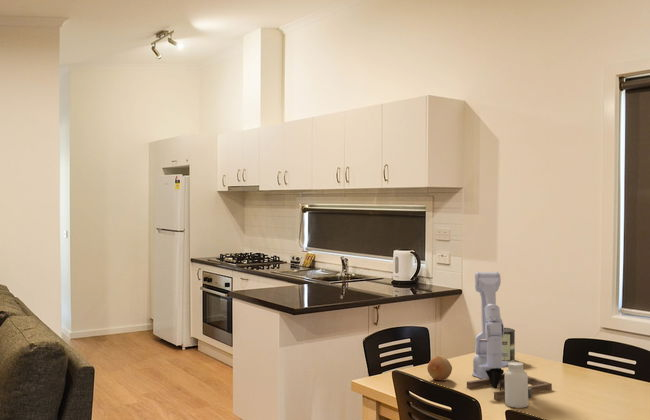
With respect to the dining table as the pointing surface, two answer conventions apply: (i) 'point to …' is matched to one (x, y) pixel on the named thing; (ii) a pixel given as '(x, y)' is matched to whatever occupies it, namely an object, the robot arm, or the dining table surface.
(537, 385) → the walnut slot beam
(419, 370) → the dining table surface
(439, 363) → the onion
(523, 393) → the pill bottle
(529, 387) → the block
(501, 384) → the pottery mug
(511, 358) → the coffee can
